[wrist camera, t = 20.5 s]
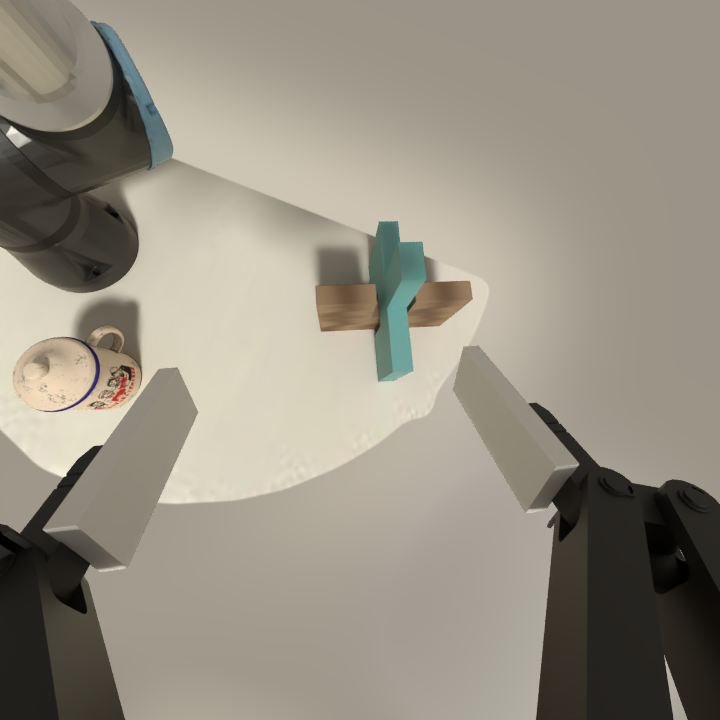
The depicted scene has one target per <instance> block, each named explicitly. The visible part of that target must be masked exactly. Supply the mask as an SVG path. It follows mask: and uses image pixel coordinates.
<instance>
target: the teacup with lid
mask: <svg viewBox="0 0 720 720" xmlns="http://www.w3.org/2000/svg"><path fill="white" fill-rule="evenodd" d="M108 333H112V334H113V336H114V342H113V345H112V347H111V348H110V350H108V349H105V348H101V347H97V344H98V342H99V341H100V339H101V338H102V337H103V336H104V335H106V334H108ZM123 345H124V337H123V334H122V333H121V332H120V331H119V330H118V329H116V328H114V327H112V326H101V327H99V328H97V329H96V330H94V331H93V332H92V333H91V334H90V336H89V337H88V338H87V340H86V342H83V341H81V340H78V339H75V338H70V337H57V338H50V339H47V340H44V341H41V342H39V343H37V344H35V345H33V346H32V347H30V348H29V349H28V350H27V351H26V352H25V353H24V354H23V355H22V356H21V357H20V359H19V360H18V362H17V364H16V366H15V368H14V372H13V386H14V390H15V392H16V394H17V396H18V397H19V398H20V399H21V400H22V401H23V402H24V403H25V404H27V405H28V406H30V407H32V408H34V409H37V410H40V411H45V412H59V411H64V410H111V409H115V408H118V407H121V406H123V405H124V404H126V403H127V402H129V401H130V400H131V399H132V398H133V397H134V395H135V394H136V393H137V391H138V389H139V386H140V382H141V373H140V369H139V367H138V365H137V363H136V362H135V361H134V360H133V359H132V358H131V357H129V356H128V355H126V354H123V353H120V351H121V349H122V347H123Z"/></svg>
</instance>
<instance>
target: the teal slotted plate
mask: <svg viewBox="0 0 720 720" xmlns="http://www.w3.org/2000/svg"><path fill="white" fill-rule="evenodd" d="M369 275H370V284H375V286H376V297H377V301H378V303H379V314H380V327H379V329H378V331H377V333H376V335H375V348H376V360H377V372H378V382H382V381H394V380H396V379H398V378H400V377H402V376H404V375H406V374H408V373H410V372H412V371H413V363H412V353H411V343H410V334H409V324H408V314H407V307H408V305H409V304H410V302H411V301H412V300H413V298H414V297H415V295H416V294H417V292H418V291H419V289H420V288H421V287H422V285H423V284H424V282H425V281H426V279H427V277H426V269H425V261H424V253H423V244H422V242H400V238H399V228H398V222H396V221H395V222H379V225H378V229H377V233H376V238H375V242H374V246H373V251H372V255H371V259H370V263H369Z"/></svg>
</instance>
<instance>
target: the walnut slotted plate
mask: <svg viewBox="0 0 720 720" xmlns="http://www.w3.org/2000/svg"><path fill="white" fill-rule="evenodd" d="M315 287H316V305H317V311H318V317H319V323H320V328H321V332H322V331H343V330H364V329H379V327H380V314H379V303H378V301H377V297H376V286H375V284H358V285H327V286H315ZM472 299H473V298H472V291H471V284H470V281H452V282H424V284H423V285H422V287H421V288H420V289H419V291H418V292H417V294H416V295H415V297H414V298H413V300H412V301H411V302H410V304H409V305H408V307H407V314H408V324H409V327H427V326H440V325H441V324H442V323H444V322H445V321H446V320H447V319H449V318H450V317H451V316H452V315H454V314H455V313H456V312H457V311H459V310H460V309H461V308H462V307H463V306H465V305H466V304H467V303H468V302H470V301H471V300H472Z"/></svg>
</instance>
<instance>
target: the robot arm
mask: <svg viewBox="0 0 720 720" xmlns="http://www.w3.org/2000/svg"><path fill="white" fill-rule="evenodd" d="M172 154H173V145H172V142H171V139H170V136H169V134H168V131H167V129H166V127H165V125H164V122H163V120H162V118H161V116H160V114H159V112H158V110H157V109H156V107H155V106H154V102H153V100H152V98H151V96H150V94H149V91H148V89H147V87H146V85H145V83H144V81H143V79H142V78H141V76H140V74H139V72H138V70H137V68H136V66H135V64H134V62H133V61H132V59H131V57H130V55H129V53H128V52H127V50H126V48H125V46H124V45H123V43H122V41H121V40H120V38H119V37H118V35H117V33H116V32H115V31H114V30H113V28H112V27H110V26H109V25H107V24H105V23H96V22H95V21H91V22H89V20H88V19H87V18H86V17H85V16H84V15H83V13H82V12H81V11H80V10H79V9H78V8H77V7H76V6H74V5H73V4H72V3H71V2H70V1H69V0H0V247H2V248H4V249H6V250H7V251H8V252H9V253H10V254H11V255H12V256H14V257H15V258H16V259H17V260H18V261H19V262H20V263H21V264H23V265H24V266H25V267H26V268H27V269H28V270H29V271H30V272H31V273H33V274H34V275H35V276H36V277H38V278H39V279H41V280H42V281H44V282H46V283H48V284H50V285H53V286H55V287H57V288H59V289H62V290H65V291H69V292H75V293H87V292H94V291H98V290H101V289H104V288H106V287H109V286H110V285H112V284H114V283H116V282H117V281H118V280H120V279H121V278H122V277H123V276H124V275H125V274H126V273H127V272H128V271H129V269H130V268H131V266H132V265H133V263H134V261H135V258H136V255H137V250H138V239H137V235H136V232H135V230H134V228H133V226H132V224H131V223H130V222H129V221H128V220H127V219H126V218H125V217H124V216H123V215H122V214H121V213H120V212H119V211H118V210H116V209H115V208H114V207H112V206H111V205H109V204H108V203H106V202H104V201H102V200H100V199H98V198H96V197H94V196H91V195H89V194H87V193H85V192H87V191H90V190H93V189H95V188H98V187H101V186H103V185H106V184H109V183H111V182H114V181H117V180H119V179H122V178H125V177H127V176H130V175H133V174H135V173H138V172H141V171H144V170H152V169H154V168H155V166H156V165H158V164H160V163H163V162H165V161H167V160H169V159H170V158H171V157H172ZM453 391H454V392H455V394H456V396H457V398H458V399H459V401H460V403H461V404H462V406H463V408H464V409H465V411H466V413H467V415H468V416H469V418H470V419H471V421H472V423H473V424H474V427H475V428H476V430H477V431H478V433H479V435H480V436H481V438H482V440H483V442H484V444H485V445H486V447H487V449H488V450H489V452H490V454H491V455H492V457H493V459H494V460H495V462H496V464H497V466H498V467H499V469H500V471H501V472H502V474H503V476H504V478H505V479H506V481H507V483H508V484H509V486H510V488H511V489H512V491H513V493H514V495H515V496H516V498H517V500H518V501H519V503H520V505H521V507H522V508H523V510H524V512H525V513H530V512H538V511H544V510H546V509H547V508H548V506H549V505H550V503H551V502H553V503H554V505H555V506H556V507H557V509H558V511H557V512H556V514H555V515H554V516H553V517H552V519H551V520H550V521H549V523H548V525H547V527H548V528H551V527H552V526H553V524H554V523H555V524H554V535H553V547H552V556H551V567H550V578H549V588H548V599H547V609H546V620H545V632H544V641H543V652H542V663H541V673H540V684H539V694H538V705H537V716H536V720H673V713H672V706H671V699H670V693H669V686H668V680H667V673H666V666H665V659H664V655H665V658H666V661H667V664H668V667H669V669H670V672H671V675H672V677H673V680H674V683H675V686H676V689H677V691H678V694H679V697H680V700H681V702H682V705H683V708H684V710H685V713H686V716H687V719H688V720H720V504H719V503H718V502H717V501H716V500H715V499H714V498H713V497H712V496H710V495H709V494H708V493H707V492H705V491H704V490H702V489H700V488H699V487H697V486H695V485H693V484H690V483H688V482H685V481H682V480H669V481H666V482H665V483H664V484H663V485H662V486H661V487H660V488H656V487H651V486H645V485H640V484H634V483H631V482H630V481H629V480H628V479H627V478H625V477H624V476H623V475H621V474H620V473H618V472H615V471H614V470H611V469H608V468H604V467H600V466H599V465H598V464H597V463H596V462H595V461H594V460H593V459H592V458H591V457H590V456H589V454H588V453H587V452H586V451H585V450H584V449H583V448H582V447H581V446H580V445H579V443H578V442H577V441H576V440H575V439H574V438H573V437H572V436H571V435H570V434H569V433H568V432H566V429H565V428H564V427H563V426H562V425H561V424H559V422H558V420H557V419H556V418H555V417H554V416H553V415H552V414H551V413H550V412H549V411H548V410H546V409H545V408H543V407H542V406H540V405H539V404H537V403H529V404H528V403H527V402H526V401H525V399H523V397H522V396H521V395H520V394H519V392H518V391H517V390H516V389H515V388H514V387H513V385H512V384H511V383H510V382H509V381H508V380H507V379H506V377H505V376H504V375H503V374H502V373H501V372H500V370H499V369H498V368H497V367H496V366H495V365H494V363H493V362H492V361H491V360H490V359H489V357H488V356H487V355H486V354H485V353H484V352H483V350H482V349H481V348H480V347H479V346H469V347H463V351H462V355H461V359H460V363H459V367H458V372H457V375H456V379H455V383H454V387H453ZM197 414H198V411H197V409H196V407H195V404H194V402H193V400H192V398H191V396H190V394H189V391H188V389H187V387H186V385H185V383H184V381H183V378H182V376H181V374H180V372H179V370H178V368H165V369H159V370H158V371H157V372H156V374H155V375H154V376H153V378H152V379H151V381H150V382H149V383H148V385H147V386H146V387H145V389H144V390H143V392H142V393H141V394H140V396H139V397H138V398H137V400H136V401H135V403H134V404H133V405H132V407H131V408H130V409H129V411H128V412H127V414H126V415H125V416H124V418H123V419H122V420H121V422H120V423H119V425H118V426H117V427H116V429H115V430H114V431H113V433H112V434H111V436H110V437H109V438H108V440H107V441H106V443H105V444H104V445H101V446H94V447H92V448H91V449H90V450H89V451H87V452H86V453H85V454H84V455H82V456H81V457H80V458H79V459H78V460H77V461H76V462H75V464H74V465H73V466H72V467H71V469H70V470H69V471H68V473H67V476H66V477H64V478H63V479H62V480H61V482H60V483H59V484H58V486H57V489H54V491H53V492H52V493H51V495H50V496H49V497H48V498H47V500H46V501H45V502H44V503H43V505H42V506H41V507H40V509H39V510H38V511H37V513H36V514H35V515H34V516H33V518H32V519H31V520H30V522H29V523H28V524H27V526H26V527H25V528H24V529H23V531H22V532H21V533H20V534H19V533H18V532H16V531H15V530H13V529H11V528H10V527H9V526H7V525H2V524H0V720H125V718H124V714H123V711H122V707H121V703H120V700H119V696H118V692H117V688H116V684H115V681H114V677H113V673H112V670H111V666H110V662H109V659H108V655H107V651H106V647H105V643H104V640H103V636H102V633H101V628H100V625H99V621H98V618H97V614H96V610H95V606H94V603H93V599H92V595H91V592H90V587H89V584H88V582H87V580H86V579H85V577H83V576H84V574H85V573H86V571H87V569H88V567H89V565H92V566H93V567H94V568H96V569H97V570H98V571H100V572H104V571H111V570H119V569H126V568H128V566H129V564H130V562H131V559H132V557H133V555H134V553H135V551H136V548H137V546H138V544H139V542H140V540H141V537H142V535H143V533H144V531H145V528H146V526H147V524H148V522H149V520H150V517H151V515H152V513H153V511H154V509H155V506H156V504H157V502H158V500H159V498H160V495H161V493H162V491H163V489H164V487H165V484H166V482H167V480H168V478H169V475H170V473H171V471H172V469H173V467H174V464H175V462H176V460H177V458H178V456H179V453H180V451H181V449H182V447H183V445H184V442H185V440H186V438H187V436H188V433H189V431H190V429H191V427H192V425H193V422H194V420H195V418H196V416H197ZM680 550H681V551H680ZM681 552H682V553H681ZM682 554H683V555H682ZM683 556H684V557H683Z"/></svg>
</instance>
